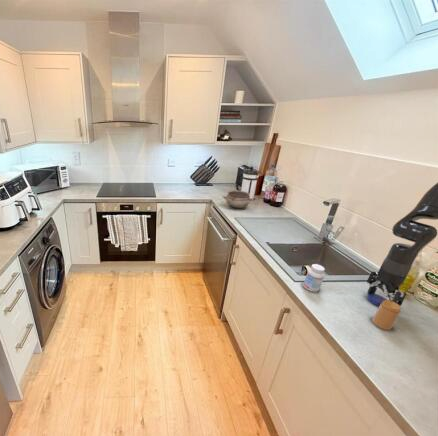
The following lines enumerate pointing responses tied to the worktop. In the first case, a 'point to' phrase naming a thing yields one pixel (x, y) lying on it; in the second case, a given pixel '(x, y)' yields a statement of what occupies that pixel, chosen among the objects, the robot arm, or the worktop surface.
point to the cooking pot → (238, 199)
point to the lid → (376, 299)
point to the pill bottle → (314, 278)
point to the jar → (386, 314)
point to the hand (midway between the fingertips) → (377, 301)
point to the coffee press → (248, 181)
